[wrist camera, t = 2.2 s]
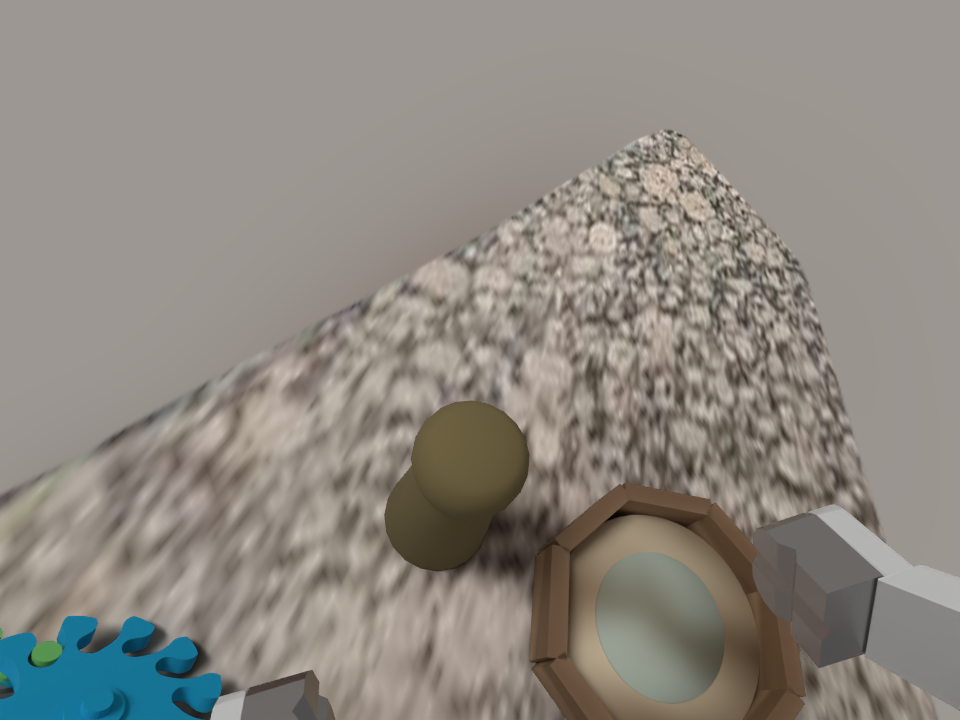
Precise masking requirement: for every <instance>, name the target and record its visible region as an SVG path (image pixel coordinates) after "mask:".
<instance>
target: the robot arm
mask: <svg viewBox="0 0 960 720" xmlns="http://www.w3.org/2000/svg"><path fill="white" fill-rule="evenodd" d="M753 545H754V546H755V548H756V549H757V550H758V551H759V553H758V555H757V556H756V558H755V559H754V561H753V562H752V571H753V578H754V581H755V584H756V587H757V590H758V592H759V594H760V595H761V597H762V599H763V600H764V602H765V603H766V605H767V606H768V607H769V608H770V610H771V611H772V612H773V613H774V614H775V615H777V616H779V617H781V618H783V619H785V620H788V621H790V622H791V635H792V637H793V638H794V639H795V640H796V641H797V643H798V644H799V645H800V646H801V647H802V649H803V650H804V651H805V652H806V654H807V655H808V656H809V657H810V658H811V660H812V661H813V662H814V663H815V664H816V666H817V667H818V668H821V667H824V666H827V665H830V664H834V663H837V662H840V661H843V660H847V659H850V658H853V657H856V656H859V655H863V654H865V657H866V658H868V659H870V660H872V661H873V662H875V663H877V664H879V665H880V666H882V667H884V668H886V669H887V670H889V671H891V672H893V673H894V674H896V675H898V676H900V677H901V678H903V679H905V680H907V681H908V682H910V683H912V684H914V685H916V686H917V687H919V688H921V689H923V690H924V691H926V692H928V693H930V694H931V695H933V696H935V697H937V698H939V699H940V700H942V701H944V702H945V703H947V704H949V705H951V706H953V707H954V708H956V709H958V710H959V711H960V578H959V577H956V576H953V575H950V574H947V573H944V572H942V571H939V570H936V569H933V568H930V567H927V566H924V565H918V566H915V567H913V566H912V565H911V564H910V563H908V562H907V561H906V560H905V559H904V558H902V557H901V556H900V555H899V554H897V553H896V552H895V551H894V550H893V549H891V548H890V547H889V546H888V545H887V544H885V543H884V542H883V541H882V540H881V539H879V538H878V537H877V536H876V535H874V534H873V533H872V532H871V531H870V530H868V529H867V528H866V527H865V526H863V525H862V524H861V523H860V522H859V521H857V520H856V519H855V518H854V517H853V516H851V515H850V514H849V513H848V512H846V511H845V510H844V509H843V508H841V507H839V506H837V505H834V504H832V505H829V506H826V507H823V508H820V509H816V510H813V511H810V512H807V513H802V514H799V515H796V516H793V517H790V518H787V519H784V520H781V521H778V522H775V523H772V524H769V525H766V526H763V527H760V528H757V529H756V531H755V532H754V534H753ZM210 720H335V717H334V713H333V710H332V707H331V705H330V703H329V701H328V699H327V698H325V697H322V696H320V695H319V681H318V679H317V677H316V676H315V674H314V672H313V670H310V671H306V672H302V673H299V674H295V675H292V676H288V677H285V678H281V679H278V680H274V681H271V682H267V683H264V684H260V685H257V686H253V687H250V688H247V689H244V690H240V691H237V692H234V693H230V694H227V695H224V696H220V697H219V698H218V700H217V702H216V704H215V705H214V707H213V710H212V714H211V718H210Z"/></svg>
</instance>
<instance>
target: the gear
mask: <svg viewBox="0 0 960 720" xmlns="http://www.w3.org/2000/svg"><path fill="white" fill-rule="evenodd" d="M97 624H98V623H97V619H96V618H92V617H86V616H68V617H67V618H65V620H64V621H63V624H62V626H61V629H60V632H59V634H58V637H57V642H58V643H56V642H52V641H47V642H42V643H40V644H38V645H37V646H36V642H37V640H36V637H35V636H34V635H33V634H32V633H22V634H17V635H13V636H10V637H7V638H5V639H2V640H0V720H203V719H198V718H195V717H192V716H190V715H188V714H186V713H185V712H183V711H182V710H180V709H179V708H178V707H177V706H176V705H175V704H174V703H173V702H175V701H183V702H186V703H187V704H188V705H190V706H191V707H192V708H193V709H194V710H196V711H198V712H202V713H207V712H211V711H212V710H213V707H214V705H215V704H216V702H217V700H218V698H219V696H220V693H221V688H222V686H221V677H220V675H218V674H215V673H208V674H204V675H202V676H199V677H195V678H190V679H177V678H171V677H167V676H163V675H160V674H159V673H158V671H167V672H172V673H185V672H187V671H189V670H190V669H191V668H192V666H193V664H194V662H195V659H196V657H197V655H198V652H197V649H196V647H195V646H194V644H193V643H192V642H191V641H190V639H189V638H188V637H180V638H177V639H175V640H174V641H173V642H172V643H171V644H170V645H169V646H167V647H166V648H165V649H163V650H161V651H159V652H156V653H154V654H150V655H145V656H139V657H129V656H127V655H125V654H124V653H129V652H135V651H139V650H142V649H143V648H145V647H146V646H147V645H148V643H149V640H150V638H151V636H152V633H153V631H154V628H155V627H154V626H153V625H152V624H151V623H149V622H148V621H145V620H143V619H141V618H138V617H135V616H133V617H130V618H129V619H127V620H126V621H125V622H124V624H123V627H122V629H121V632H120V634H119V636H118V637H117V639H116V640H115V641H113V642H112V643H111V644H110V645H108V646H107V647H105V648H103V649H102V650H100V651H98V652H96V653H90V654H88V653H83V652H81V651H79V650H80V649H82V648H84V647H85V646H87V645H88V644H89V643H90V642H91V640H92V637H93V635H94V632H95V630H96V627H97ZM1 636H2V630H1V628H0V639H1Z"/></svg>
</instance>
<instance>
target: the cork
mask: <svg viewBox="0 0 960 720" xmlns="http://www.w3.org/2000/svg"><path fill="white" fill-rule="evenodd" d="M411 462H412V466H411V467H410V468H409V470H408V471H407V472H406V473H405V474H404V476H403V477H402V478H401V479H400V481H399V482H398V483H397V484H396V486H395V487H394V489H393V491H392V492H391V494H390V496H389V498H388V500H387V505H386V510H385V524H386V532H387V534H388V536H389V539H390V541H391V543H392V545H393V547H394V548H395V549H396V551H397V552H398V553H399V554H400V555H401V556H402V557H403V558H404V559H405V560H406V561H408V562H410V563H412V564H414V565H415V566H417V567H419V568H422V569H428V570H434V571H441V570H447V569H453V568H455V567H457V566H459V565H461V564H463V563H465V562H467V561H468V560H469V559H470V558H471V557H472V556H473V555H474V554H475V553H476V552H477V551H478V550H479V549H480V546H481V544H482V542H483V540H484V538H485V535H486V533H487V530H488V528H489V525H490V522H491V520H492V517H493V515H494V514H496V513H498V512H500V511H502V510H504V509H505V508H506V507H507V506H508V505H509V504H510V503H511V502H512V501H513V500H514V499H515V498H516V497H517V495H518V494H519V493H520V492H521V490H522V488H523V485H524V483H525V481H526V478H527V475H528V466H529V451H528V447H527V443H526V439H525V437H524V435H523V434H522V432H521V430H520V429H519V427H518V425H517V424H516V423H515V422H514V421H513V420H512V419H511V418H510V417H509V416H508V415H507V414H506V413H505V412H503V411H501V410H499V409H497V408H495V407H494V406H492V405H490V404H486V403H481V402H477V401H462V402H455V403H452V404H450V405H447V406H445V407H442V408H440V409H439V410H438V411H437V412H436V413H434V414H433V415H432V416H431V417H430V418H429V419H427V420H426V421H425V422H424V424H423V425H422V427H421V429H420V431H419V432H418V434H417V436H416V438H415V442H414V447H413V452H412V457H411Z"/></svg>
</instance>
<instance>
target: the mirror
mask: <svg viewBox="0 0 960 720" xmlns="http://www.w3.org/2000/svg"><path fill="white" fill-rule="evenodd" d="M611 515H614V516H619V517H618V518H615V519H612V520H609V521H607V522H605V523H603V522H604V521H606V520H607V519H608V518H609V517H610V516H611ZM602 523H603V524H602ZM538 552H539V553H540V554H538V555H537V556H535V570H534V587H533V604H532V621H531V638H530V655H529V661H533V662H538V663H537V664H536V665H535V666H533V667H532V668H531V669H532V671H533V672H534V673H535V675H536V676H537V678H538V679H539V681H540V682H541V683H542V685H543V686H544V688H545V689H546V690H547V692H548V693H549V695H550V696H551V698H552V699H553V700H554V702H555V703H556V705H557V706H558V708H559V709H560V710H561V712H562V713H563V715H564V716H565V717H566V719H567V720H794V719H795V717H796V716H797V714H798V713H799V711H800V710H801V709H802V707H803V706H804V704H805V703H804V702H803V701H802V700H801V699H800V697H801V696H806V694H805V688H804V682H803V676H802V670H801V664H800V658H799V652H798V646H797V641H796V640H795V639H794V638H793V637H792V635H791V622H790V621H788V620H785V619H783V618H781V617H779V616H777V615H775V614H774V613H773V612H772V611H771V610H770V608H769V607H768V606H767V605H766V603H765V602H764V600H763V599H762V597H761V595H760V594H759V592H758V590H757V587H756V584H755V581H754V578H753V571H752V562H753V561H754V559H755V558H756V556H757V555H758V553H759V551H758V550H757V549H756V548H755V546H754V545H753V544H752V543H751V542H750V541H749V540H748V539H747V537H746V536H745V535H744V534H743V533H742V532H741V531H740V530H739V528H738V527H737V526H736V525H735V524H734V523H733V522H732V521H731V519H730V518H729V517H728V516H727V515H726V514H725V513H724V512H723V510H722V509H721V508H720V507H719V506H718V505H717V504H716V503H714V504H712V505H711V503H710V499H705V498H700V497H695V496H690V495H685V494H680V493H675V492H670V491H665V490H660V489H655V488H650V487H644V486H639V485H634V484H629V483H625V484H623V485H622V486H621V484H619V485H618V486H617V487H615V488H614V489H613V490H611V491H610V492H609V493H607V494H606V495H605V496H603V497H602V498H601V499H599V500H598V501H597V502H596V503H595V504H593V505H592V506H591V507H590V508H589V509H588V510H586V511H585V512H584V513H583V514H582V515H580V516H579V517H578V518H577V519H576V520H574V521H573V522H572V523H571V524H570V525H568V526H567V527H566V528H565V529H564V530H562V531H561V532H560V533H559V534H558V535H556V536H555V537H554V538H553V539H552V540H550V541H549V542H548V543H547V544H546V545H544V546H543V547H542V548H541V549H540V550H538Z"/></svg>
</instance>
